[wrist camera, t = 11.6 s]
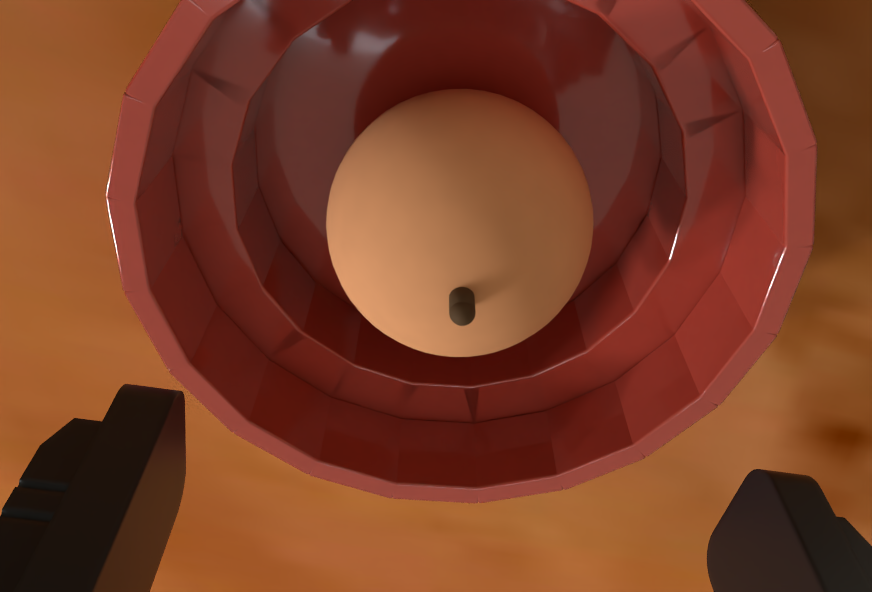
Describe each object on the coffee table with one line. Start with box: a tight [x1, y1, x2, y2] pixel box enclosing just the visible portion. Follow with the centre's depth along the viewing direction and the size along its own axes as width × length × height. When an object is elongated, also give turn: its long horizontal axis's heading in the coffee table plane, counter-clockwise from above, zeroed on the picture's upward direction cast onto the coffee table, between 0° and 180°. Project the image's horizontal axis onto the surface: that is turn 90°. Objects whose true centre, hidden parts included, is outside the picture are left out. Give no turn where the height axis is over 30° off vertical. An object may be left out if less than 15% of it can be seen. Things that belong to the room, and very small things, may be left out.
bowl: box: [106, 0, 817, 503], centre depth 18 cm, size 14×14×6 cm
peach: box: [326, 89, 593, 357], centre depth 17 cm, size 6×6×7 cm
